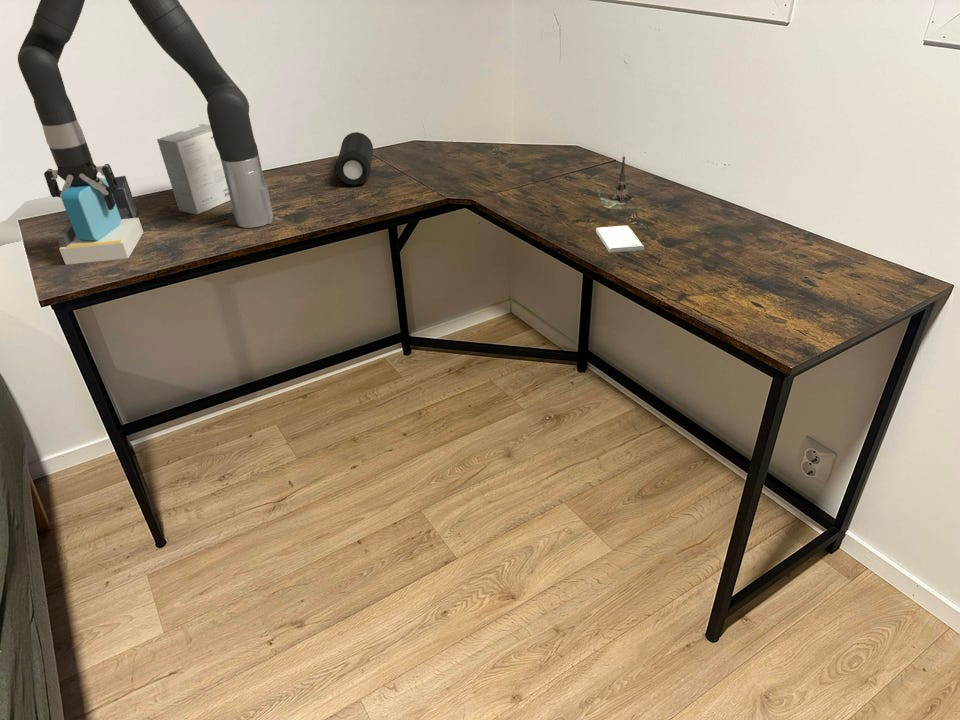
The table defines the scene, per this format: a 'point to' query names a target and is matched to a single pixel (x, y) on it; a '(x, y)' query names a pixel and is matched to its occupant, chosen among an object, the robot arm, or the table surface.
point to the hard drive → (619, 239)
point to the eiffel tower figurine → (618, 193)
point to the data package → (89, 212)
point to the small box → (124, 199)
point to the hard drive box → (194, 169)
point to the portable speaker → (355, 159)
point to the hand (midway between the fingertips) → (92, 210)
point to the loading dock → (100, 243)
